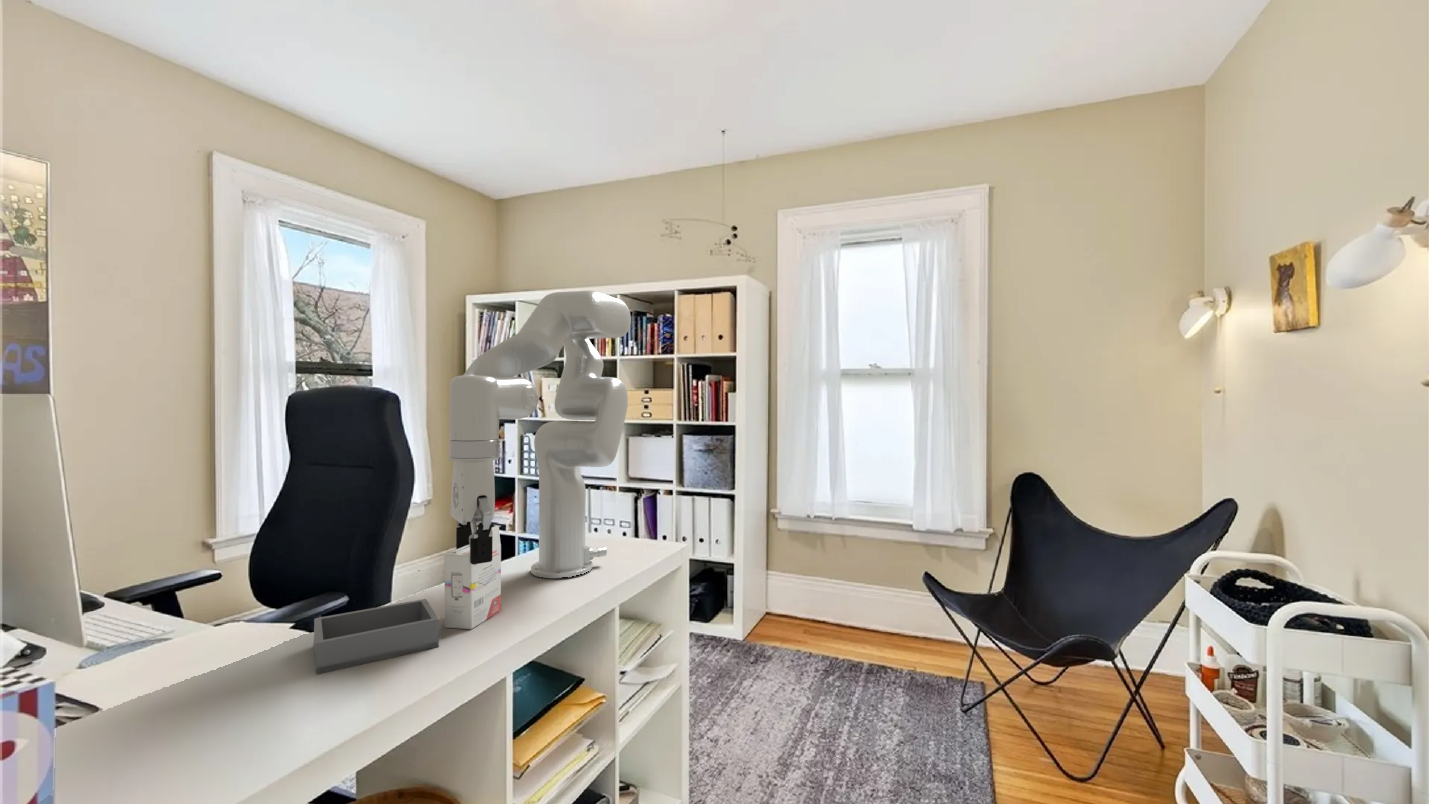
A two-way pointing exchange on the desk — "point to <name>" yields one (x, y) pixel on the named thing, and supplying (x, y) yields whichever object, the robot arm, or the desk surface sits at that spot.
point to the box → (374, 634)
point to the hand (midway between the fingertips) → (473, 556)
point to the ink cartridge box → (472, 586)
